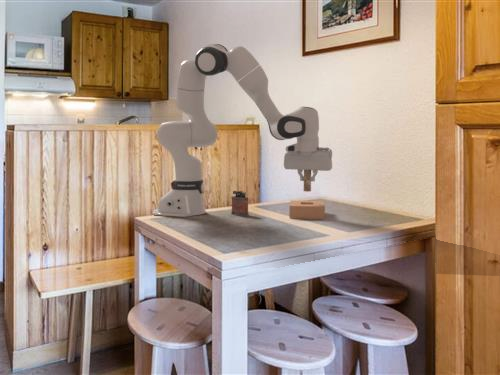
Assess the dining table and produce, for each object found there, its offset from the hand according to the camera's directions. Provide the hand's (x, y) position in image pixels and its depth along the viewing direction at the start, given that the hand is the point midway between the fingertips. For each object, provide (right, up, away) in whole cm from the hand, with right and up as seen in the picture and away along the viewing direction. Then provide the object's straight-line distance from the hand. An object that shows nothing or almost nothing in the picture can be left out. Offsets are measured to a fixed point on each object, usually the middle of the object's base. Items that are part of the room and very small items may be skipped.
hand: (307, 181), depth 183 cm
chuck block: (0, -14, +2) cm, 14 cm away
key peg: (0, -4, 0) cm, 4 cm away
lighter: (-28, -14, +5) cm, 32 cm away
